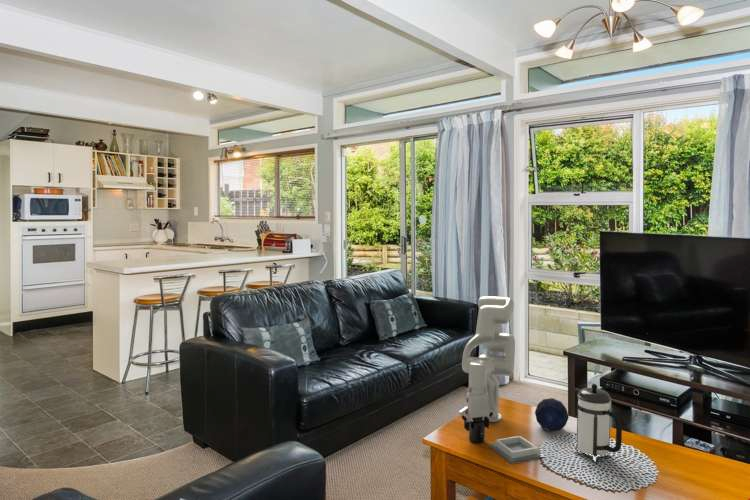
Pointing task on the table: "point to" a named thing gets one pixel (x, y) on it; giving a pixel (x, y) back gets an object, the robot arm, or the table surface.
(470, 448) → the table surface
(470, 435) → the supplement bottle
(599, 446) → the coffee press
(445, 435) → the table surface
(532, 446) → the rimmed tray
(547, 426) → the decorative orb
